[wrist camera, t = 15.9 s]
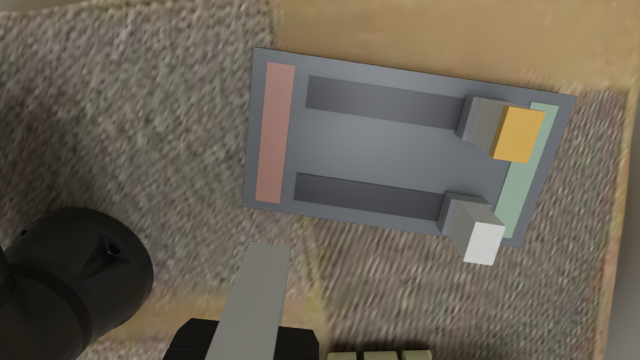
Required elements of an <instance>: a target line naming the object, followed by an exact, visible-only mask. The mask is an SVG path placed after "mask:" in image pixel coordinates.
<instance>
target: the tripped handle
mask: <svg viewBox="0 0 640 360" xmlns="http://www.w3.org/2000/svg"><path fill="white" fill-rule="evenodd" d="M545 113H546V112H544V111H540V110H534V109H530V108H527V107H524V106H520V105H517V103H513V102H510V101H505V100H499V99H492V98H486V97H479V96H472V95H466V99H465V102H464V106H463V110H462V113H461V117H460V120H459V124H458V128H457V131H456V136H457V137H458V138H460V139H461V140H466V141H470V142H471V143H473V144H474V145H476V146H477V147H478V148H480V149H481V150H483V151H484V152H486V153H487V154H489V155H488V156H490V157H491V158H493V159H499V160H506V161H513V162H519V163H526V164H528V161H529V158H530V155H531V152H532V150H533V147H534V144H535V141H536V138H537V135H538V133H539V130H540V127H541V124H542V121H543V118H544V116H545Z"/></svg>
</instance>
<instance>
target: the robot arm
mask: <svg viewBox="0 0 640 360" xmlns="http://www.w3.org/2000/svg"><path fill="white" fill-rule="evenodd" d="M290 248H291V246H283V245H275V244H266V243H257V242H250V243H249V245H248V248H247V251H246V253H245V256H244V259H243V261H242V264H241V266H240V269H239V272H238V274H237V277H236V279H235V282H234V285H233V287H232V290H231V293H230V295H229V298H228V300H227V303H226V306H225V308H224V311H223V313H222V316H221V319H220V321H215V320H206V319H196V318H191V319H190V320H189V321H188V322H186V323H185V324H184V325H183V326H182V327H181V328H179V329H178V330H177V332H176V334H175V336H174V338H173V340H172V342H171V344H170V347H169V348H168V350H167V351H166V353H165V355H164V357H163V360H319V342H318V340H317V338H316V336H315V334H314V332H313V330H309V329H300V328H291V327H281V321H282V315H283V308H284V300H285V291H286V282H287V274H288V265H289V257H290ZM152 282H153V271H152V266H151V262H150V259H149V256H148V254H147V252H146V250H145V249H144V247H143V245H142V244H141V242H140V241H139V240H138V239H137V237H136V236H135V235H134V234H133V233H132V232H131V231H130V230H129V229H127V228H126V227H125V226H124V225H122V224H121V223H120V222H118V221H116V220H115V219H113V218H111V217H109V216H107V215H105V214H102V213H100V212H97V211H93V210H89V209H84V208H64V209H59V210H55V211H52V212H50V213H48V214H46V215H44V216H42V217H40V218H39V219H37V220H35V221H33V222H32V223H30V224H29V225H27V226H26V227H25V228H24V229H22V230H21V231H20V233H19V234H18V235H17V236H16V238H15V239H14V240H13V242H12V244H11V245H10V246H9V247H8V248H7V249H6V250H5V251H4V252H3V250H2V248H1V246H0V360H76V359H77V358H78V357H79V356H80V354H81V353H82V352H83V351H84V350H85V348H86V347H87V346H88V345H90V344H91V343H93V342H94V341H96V340H97V339H98V338H100V337H101V336H103V335H104V334H106V333H107V332H109V331H110V330H112V329H114V328H116V327H118V326H120V325H122V324H123V323H125V322H126V321H128V320H129V319H130V318H131V317H132V316H133V315H134V314H135V313H136V312H137V311H138V309H139V308H140V307H141V306H142V304H143V303H144V302H145V300H146V299H147V297H148V295H149V293H150V291H151V288H152Z"/></svg>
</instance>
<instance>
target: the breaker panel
mask: <svg viewBox="0 0 640 360" xmlns="http://www.w3.org/2000/svg"><path fill="white" fill-rule="evenodd" d="M466 95H472V96H479V97H486V98H492V99H499V100H505V101H510V102H513V103H517V105H520V106H524V107H527V108H530V109H534V110H540V111H544V112H546V113H545V116H544V118H543V121H542V124H541V127H540V130H539V133H538V135H537V138H536V141H535V144H534V147H533V150H532V152H531V155H530V158H529V161H528V164H526V163H519V162H513V161H506V160H499V159H493V158H491V157H490V156H488V155H489V154H487V153H486V152H484V151H483V150H481V149H480V148H478V147H477V146H476V145H474V144H473V143H471V142H470V141H466V140H461V139H460V138H458V137H457V136H456V131H457V128H458V124H459V120H460V117H461V113H462V110H463V106H464V102H465V99H466ZM576 98H577V96H572V95H567V94H561V93H556V92H549V91H542V90H536V89H529V88H523V87H516V86H510V85H503V84H496V83H490V82H483V81H477V80H470V79H464V78H457V77H450V76H444V75H437V74H431V73H424V72H418V71H411V70H404V69H398V68H391V67H385V66H378V65H371V64H365V63H358V62H352V61H345V60H339V59H332V58H325V57H319V56H312V55H306V54H299V53H293V52H286V51H279V50H273V49H266V48H257V47H254V54H253V67H252V80H251V93H250V106H249V120H248V133H247V146H246V159H245V172H244V185H243V198H242V207H249V208H255V209H262V210H269V211H275V212H282V213H289V214H295V215H302V216H309V217H315V218H322V219H329V220H335V221H342V222H349V223H355V224H362V225H369V226H375V227H382V228H389V229H395V230H402V231H409V232H415V233H422V234H429V235H435V236H442V237H449V238H450V240H451V242H452V243H453V245H454V247H455V248H456V250H457V252H458V253H459V255H460V257H461V258H462V260H463V261H465V262H472V263H479V264H485V265H493V262H494V259H495V256H496V253H497V251H498V248H499V245H502V246H509V247H515V248H520V246H521V244H522V241H523V238H524V236H525V233H526V231H527V228H528V225H529V223H530V220H531V217H532V215H533V212H534V209H535V207H536V204H537V201H538V199H539V196H540V193H541V191H542V188H543V185H544V183H545V180H546V177H547V175H548V172H549V170H550V167H551V164H552V162H553V159H554V156H555V154H556V151H557V148H558V146H559V143H560V140H561V138H562V135H563V132H564V130H565V127H566V124H567V122H568V119H569V116H570V114H571V111H572V108H573V106H574V103H575V101H576Z"/></svg>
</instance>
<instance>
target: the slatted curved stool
mask: <svg viewBox="0 0 640 360" xmlns="http://www.w3.org/2000/svg"><path fill="white" fill-rule="evenodd" d="M327 360H356V352H339V353H329V354H328V356H327ZM364 360H398V358H397V354H396V351H375V352H364ZM402 360H432V355H431V352H430V350H411V351H402Z"/></svg>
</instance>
